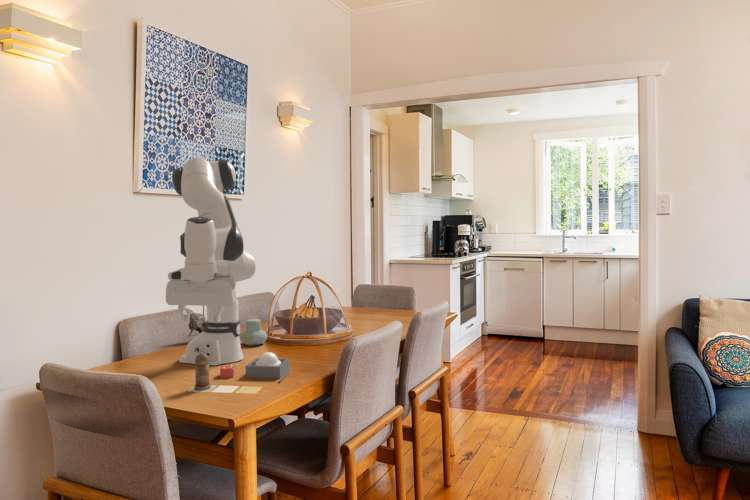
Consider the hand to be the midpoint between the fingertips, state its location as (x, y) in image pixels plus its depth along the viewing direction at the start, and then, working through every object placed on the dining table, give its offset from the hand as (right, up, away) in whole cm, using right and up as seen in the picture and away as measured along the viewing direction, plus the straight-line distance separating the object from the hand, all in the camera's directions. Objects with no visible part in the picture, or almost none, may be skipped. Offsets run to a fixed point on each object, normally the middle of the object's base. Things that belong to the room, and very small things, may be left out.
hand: (201, 320), depth 164 cm
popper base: (+16, -20, +17) cm, 31 cm away
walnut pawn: (0, -20, +1) cm, 20 cm away
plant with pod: (-23, -18, +74) cm, 80 cm away
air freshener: (0, -18, +68) cm, 71 cm away
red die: (+4, -21, +14) cm, 25 cm away
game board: (+7, -21, 0) cm, 22 cm away
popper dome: (+16, -19, +17) cm, 30 cm away
